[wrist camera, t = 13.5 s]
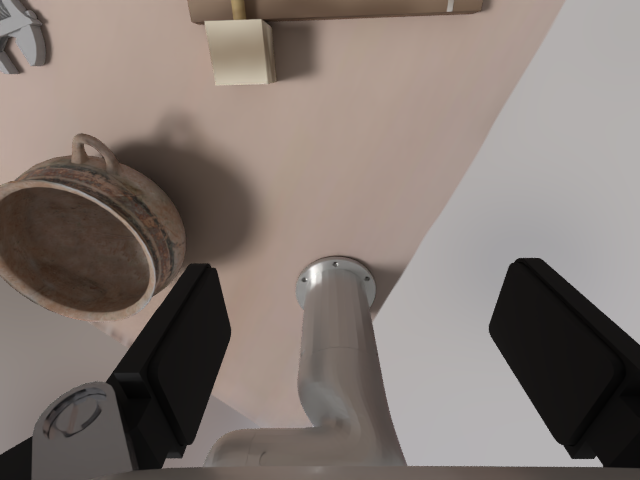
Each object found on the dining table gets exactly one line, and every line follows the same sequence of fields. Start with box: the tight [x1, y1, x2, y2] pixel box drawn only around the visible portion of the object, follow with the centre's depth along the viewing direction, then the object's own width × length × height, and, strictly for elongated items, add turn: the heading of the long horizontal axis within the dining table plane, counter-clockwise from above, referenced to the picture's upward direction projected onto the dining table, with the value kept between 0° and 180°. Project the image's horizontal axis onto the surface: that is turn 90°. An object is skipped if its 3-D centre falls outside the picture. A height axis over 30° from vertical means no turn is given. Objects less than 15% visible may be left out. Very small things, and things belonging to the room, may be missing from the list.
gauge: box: [204, 0, 277, 85], centre depth 29 cm, size 10×5×6 cm, turn 2°
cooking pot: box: [0, 134, 186, 322], centre depth 37 cm, size 25×19×12 cm
